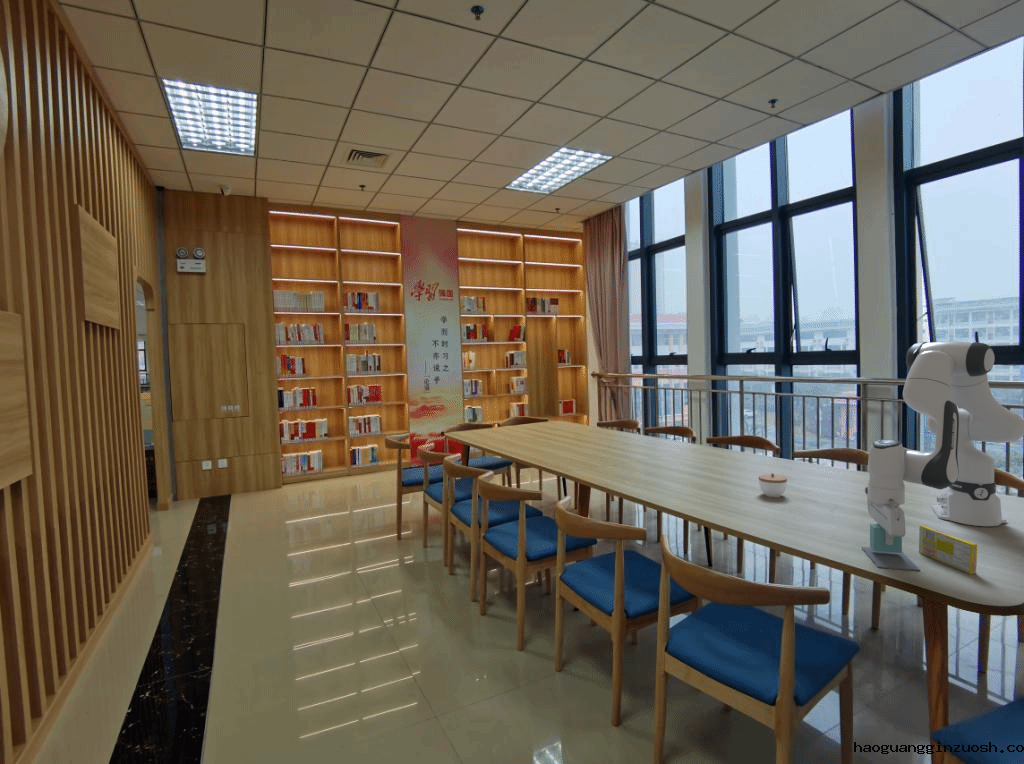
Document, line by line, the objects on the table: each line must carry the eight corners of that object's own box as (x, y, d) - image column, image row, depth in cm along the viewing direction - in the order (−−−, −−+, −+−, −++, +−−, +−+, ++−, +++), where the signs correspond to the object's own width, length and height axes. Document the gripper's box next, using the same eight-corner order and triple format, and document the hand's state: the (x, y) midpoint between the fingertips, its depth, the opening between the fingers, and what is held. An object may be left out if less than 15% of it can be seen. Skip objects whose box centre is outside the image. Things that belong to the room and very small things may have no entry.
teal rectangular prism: (870, 546, 158) (870, 523, 158) (897, 548, 156) (897, 525, 155) (873, 550, 155) (873, 527, 154) (901, 552, 152) (901, 529, 152)
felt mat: (861, 548, 161) (861, 546, 161) (900, 551, 158) (900, 549, 158) (877, 567, 147) (877, 566, 147) (920, 571, 144) (920, 569, 144)
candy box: (977, 574, 141) (978, 544, 140) (970, 574, 141) (971, 544, 140) (924, 551, 157) (924, 524, 157) (917, 552, 157) (918, 525, 156)
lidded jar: (780, 491, 225) (780, 470, 224) (791, 498, 214) (791, 476, 214) (754, 492, 226) (754, 470, 225) (764, 499, 215) (764, 476, 215)
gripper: (912, 506, 143) (912, 555, 144) (886, 487, 163) (886, 530, 163) (885, 504, 145) (885, 553, 146) (863, 486, 165) (863, 528, 165)
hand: (885, 541), depth 155 cm, fingers closed on teal rectangular prism, 3 cm apart
